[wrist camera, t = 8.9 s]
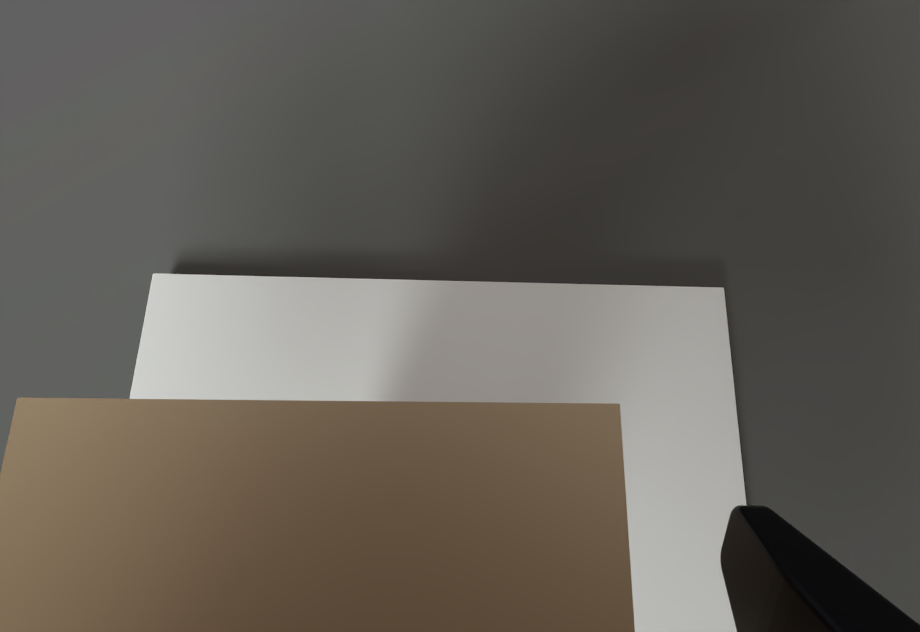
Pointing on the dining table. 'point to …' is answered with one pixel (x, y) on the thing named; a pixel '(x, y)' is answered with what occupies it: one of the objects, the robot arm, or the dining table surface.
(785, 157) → the dining table surface
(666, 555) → the peg board
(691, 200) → the dining table surface
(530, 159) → the dining table surface
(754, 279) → the dining table surface
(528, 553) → the bronze post
